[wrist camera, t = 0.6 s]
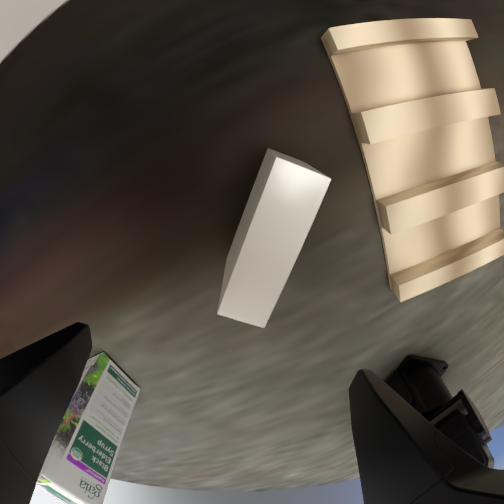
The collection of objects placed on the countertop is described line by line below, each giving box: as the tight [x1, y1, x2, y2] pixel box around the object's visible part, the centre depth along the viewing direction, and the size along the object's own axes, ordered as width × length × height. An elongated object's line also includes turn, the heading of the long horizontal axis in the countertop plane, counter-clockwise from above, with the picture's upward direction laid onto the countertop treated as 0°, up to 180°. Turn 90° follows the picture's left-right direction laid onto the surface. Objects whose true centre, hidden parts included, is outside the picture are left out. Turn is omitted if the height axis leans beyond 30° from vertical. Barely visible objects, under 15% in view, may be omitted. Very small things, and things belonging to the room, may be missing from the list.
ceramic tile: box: [217, 148, 331, 328], centre depth 17 cm, size 2×8×7 cm, turn 160°
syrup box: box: [36, 352, 140, 504], centre depth 20 cm, size 6×6×14 cm
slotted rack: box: [321, 18, 504, 302], centre depth 17 cm, size 12×19×2 cm, turn 20°
